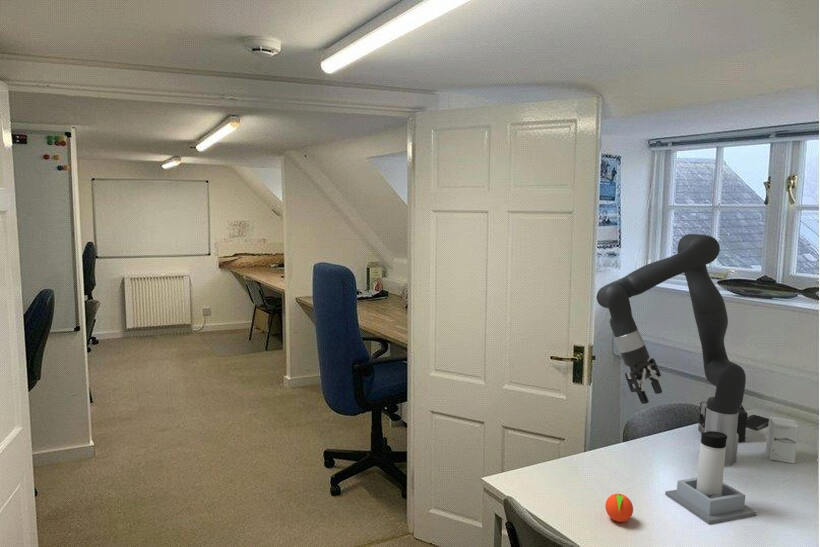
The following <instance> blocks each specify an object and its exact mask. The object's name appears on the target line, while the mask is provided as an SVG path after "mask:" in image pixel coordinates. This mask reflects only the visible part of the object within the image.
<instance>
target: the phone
mask: <svg viewBox="0 0 820 547" xmlns="http://www.w3.org/2000/svg"><path fill="white" fill-rule="evenodd" d="M746 425H747V426H746V429H749V430H752V431H761V430H762V429H764V428H766V427H768V425H769V418H767V417H764V416H760V415H756V414H751V415H748V416H747V422H746Z"/></svg>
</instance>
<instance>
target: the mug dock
mask: <svg viewBox="0 0 820 547" xmlns="http://www.w3.org/2000/svg"><path fill="white" fill-rule="evenodd" d="M676 484H677V485H676V489H673V490H666V491H665V493H664V495H665V496H666V497H668V498H669V499H671V500H672V501H673V502H676V503H677V504H678V505H680V506H681V507H682V508H684V509H686V510H687V511H688V512H690V513H692V514H693V515H694V516H696V517H697V518H699V519H700V520H702V521H703V522H705V523H706V524H707V525H712V524H717V523H722V522H728V521H734V520H739V519H743V518H749V517H754V516H757V510H754V509H752V508H751V507H749V506H747V505H746V504H745V502H746V494H744V493H742V492H741V491H739V490H737V489H735V488H734V487H732V486H730V485H728V484H727V483H725V482H723V483H722V494H721V497H716V498H709V497H707V496H706V495H704V494H703V493H701V492H699V491H698V490H696V487H697V477H691V478H687V479H679V480H677V483H676Z"/></svg>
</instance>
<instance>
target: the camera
mask: <svg viewBox="0 0 820 547" xmlns="http://www.w3.org/2000/svg"><path fill="white" fill-rule="evenodd" d="M699 404H700V405H699V414H698V416H699V417H698V427H697V430H698V431H699V432H700V433H701V434H702V433H704V430H705V419H706V407H707V401H701V402H700V403H699ZM747 417H749V413H748V412H747V411H746V410H745V408H744V406H743V404H741V406H740V408H739V413H738V424H737V433H738V435H739V438H738V443H745V442H746V433H747V432H746V431H747V428H746V426H747V425H746V422H747Z"/></svg>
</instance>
